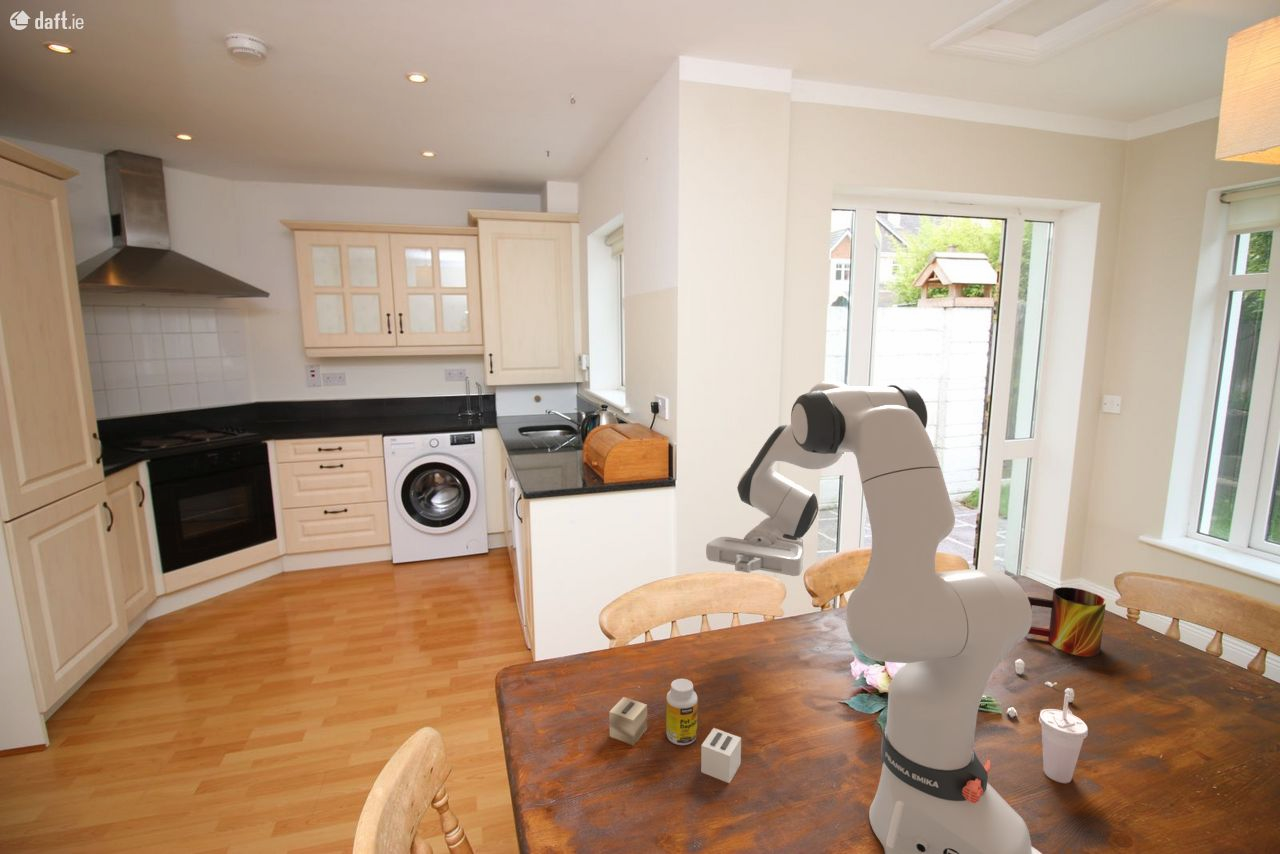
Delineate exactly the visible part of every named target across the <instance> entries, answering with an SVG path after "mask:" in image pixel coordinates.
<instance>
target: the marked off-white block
mask: <svg viewBox="0 0 1280 854" xmlns="http://www.w3.org/2000/svg"><path fill="white" fill-rule="evenodd" d="M700 748H701V751H700V753H701V754H700V755H701V757H700V758H701V759H700V760H701V762H700V765H701V766H700V767H701V768H700V771H701V772H700V773H702V774H705V775H708V776H709V777H712V778H715V779H716V780H720V781H723V782H724V783H728V784H731V782H732V779H733V778H734V776H735V774H736V773H737V771H738V769H739V767H740V766H741V764H742V763H741V762H742V761H741V760H742V756H741V755H742V754H741V753H742V737H741V736H738V735H734V734H732V733H729V732H726V731H724V730H721V729H718V728H716V727H713V728H712V729H711V731H710V732H709V734H708V735H707V736H706V738H705V740H704V741H703V742H702V744H701V746H700Z"/></svg>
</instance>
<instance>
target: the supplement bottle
mask: <svg viewBox="0 0 1280 854" xmlns="http://www.w3.org/2000/svg"><path fill="white" fill-rule="evenodd" d="M670 683H671V684H670V690H669V691H668V692H667V694H666V701H665V702H666V705H665V706H666V710H665V711H666V716H665V717H666V718H665V719H666V720H665V721H666V725H665V726H666V727H665V729H666V731H665V732H666V738H667V739H668V740H669V741H670V742H671V743H672V744H675V745H677V746H688V745H690V744H692V743H693V742H694V741H696V738H697V735H698V695H697V693H696V691H694V683H693V682H692V681H691V680H690V679H686V678H676V679H674V680H672V682H670Z"/></svg>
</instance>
